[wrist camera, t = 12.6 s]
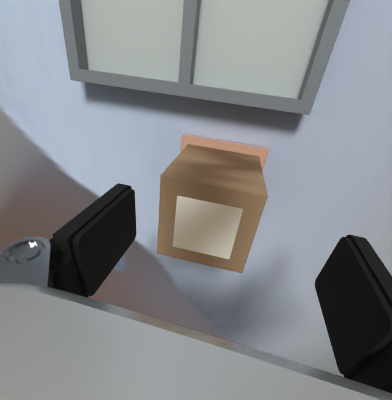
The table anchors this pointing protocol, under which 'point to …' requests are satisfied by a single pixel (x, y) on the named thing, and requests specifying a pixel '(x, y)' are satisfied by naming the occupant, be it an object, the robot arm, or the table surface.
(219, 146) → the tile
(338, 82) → the table surface
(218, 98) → the cubby strip
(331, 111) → the table surface
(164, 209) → the brown labeled box
